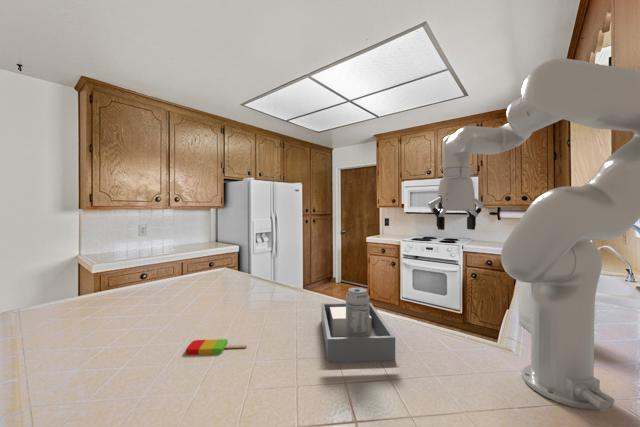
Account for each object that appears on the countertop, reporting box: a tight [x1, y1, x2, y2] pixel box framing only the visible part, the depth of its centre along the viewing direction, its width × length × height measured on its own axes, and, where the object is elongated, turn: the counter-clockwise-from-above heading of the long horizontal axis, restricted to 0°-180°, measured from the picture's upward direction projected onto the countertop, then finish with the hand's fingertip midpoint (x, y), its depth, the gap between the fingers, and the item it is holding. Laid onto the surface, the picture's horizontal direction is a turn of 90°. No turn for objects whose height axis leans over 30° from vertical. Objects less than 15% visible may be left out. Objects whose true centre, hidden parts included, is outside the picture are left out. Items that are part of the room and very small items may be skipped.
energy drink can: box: [345, 286, 371, 337], centre depth 70 cm, size 6×6×15 cm
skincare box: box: [516, 280, 536, 333], centre depth 82 cm, size 8×7×16 cm
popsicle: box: [185, 338, 248, 356], centre depth 71 cm, size 6×15×2 cm, turn 94°
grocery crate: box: [321, 302, 396, 364], centre depth 75 cm, size 24×16×6 cm, turn 3°
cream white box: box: [330, 307, 371, 336], centre depth 81 cm, size 9×11×5 cm
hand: (456, 229), depth 85 cm, fingers open, 9 cm apart
